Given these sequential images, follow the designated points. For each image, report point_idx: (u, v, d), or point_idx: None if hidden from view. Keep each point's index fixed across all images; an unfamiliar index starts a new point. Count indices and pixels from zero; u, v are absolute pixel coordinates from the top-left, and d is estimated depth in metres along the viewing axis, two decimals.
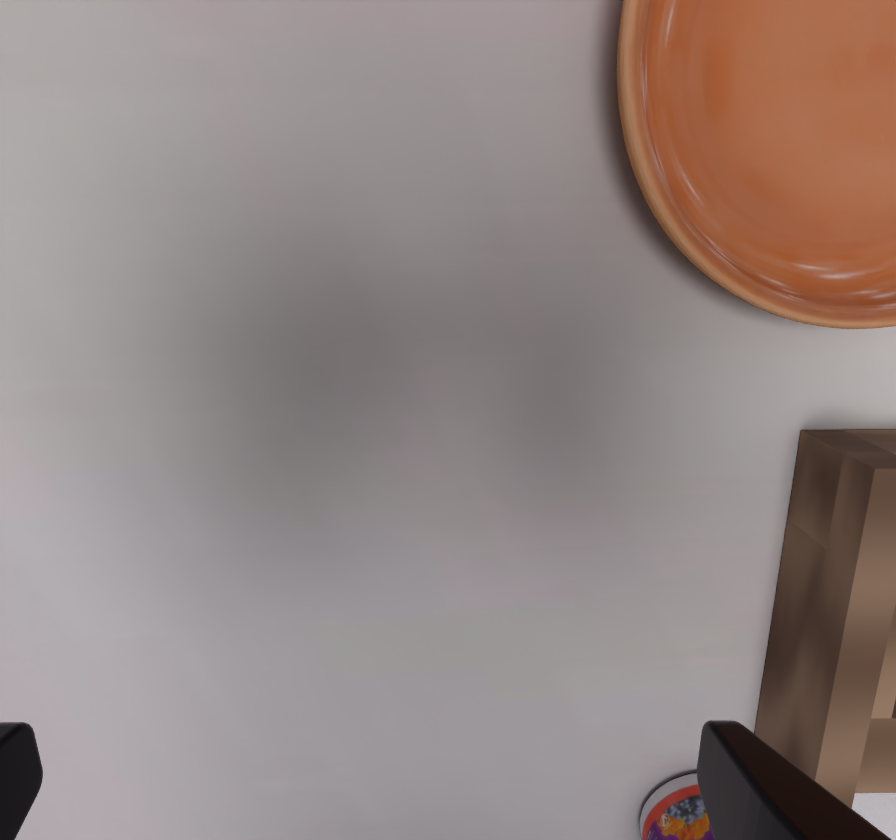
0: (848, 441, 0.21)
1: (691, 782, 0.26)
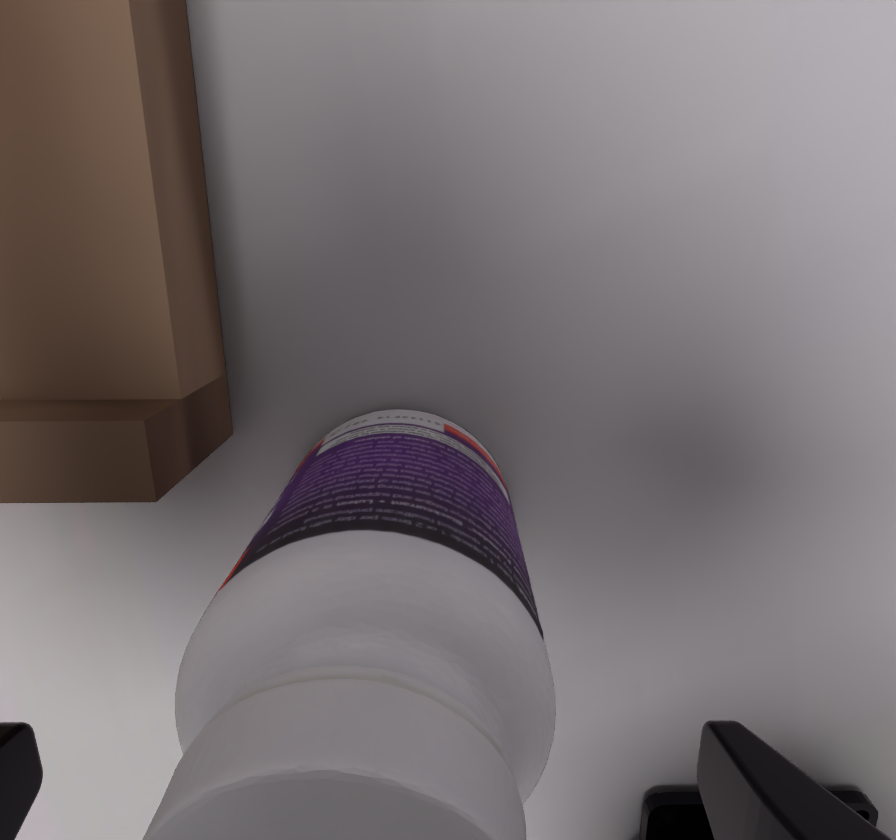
0: None
1: None
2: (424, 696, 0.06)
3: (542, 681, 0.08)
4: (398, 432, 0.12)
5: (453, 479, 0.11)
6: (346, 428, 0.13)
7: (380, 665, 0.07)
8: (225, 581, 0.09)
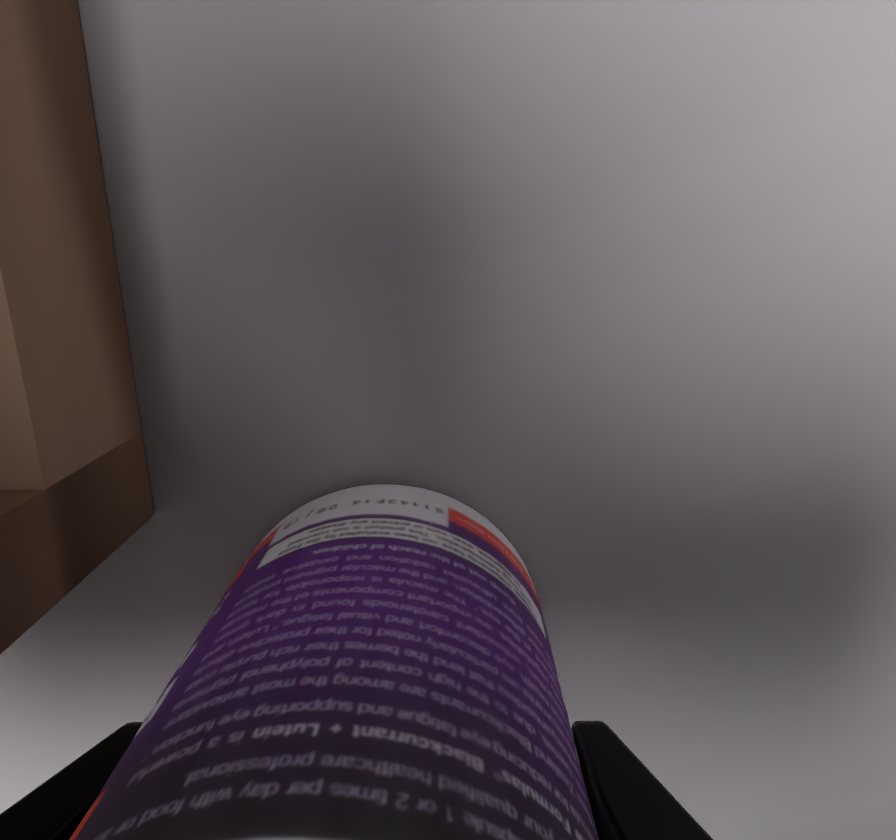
0: None
1: None
2: None
3: None
4: (379, 535, 0.08)
5: (462, 639, 0.06)
6: (306, 518, 0.09)
7: None
8: None
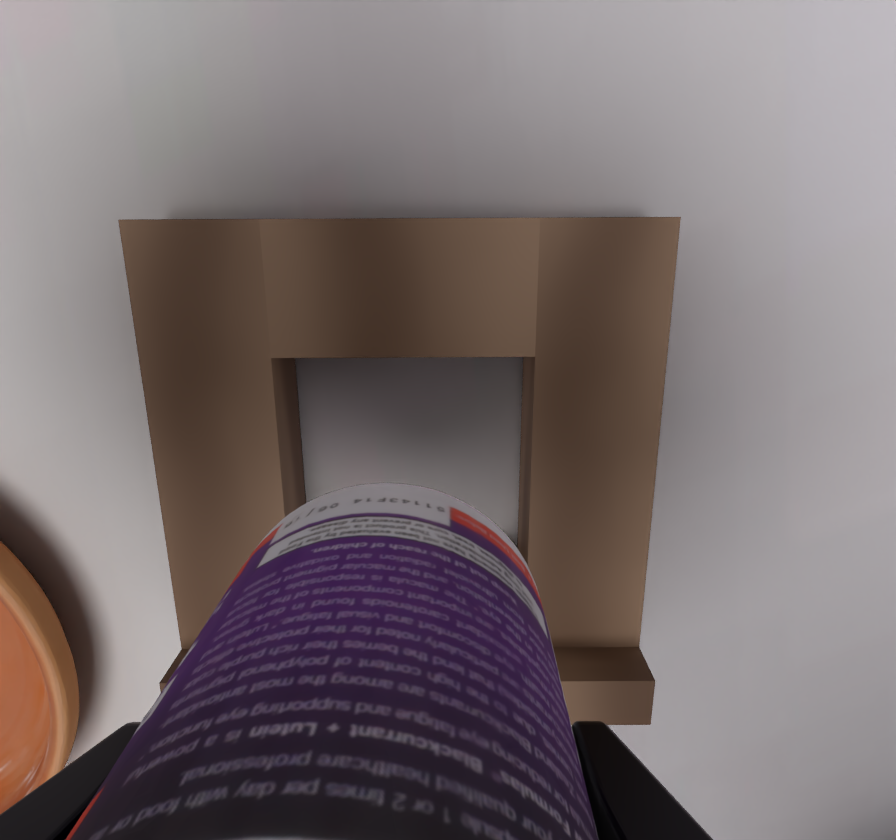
0: None
1: None
2: None
3: None
4: (380, 535, 0.08)
5: (464, 639, 0.06)
6: (308, 517, 0.09)
7: None
8: None
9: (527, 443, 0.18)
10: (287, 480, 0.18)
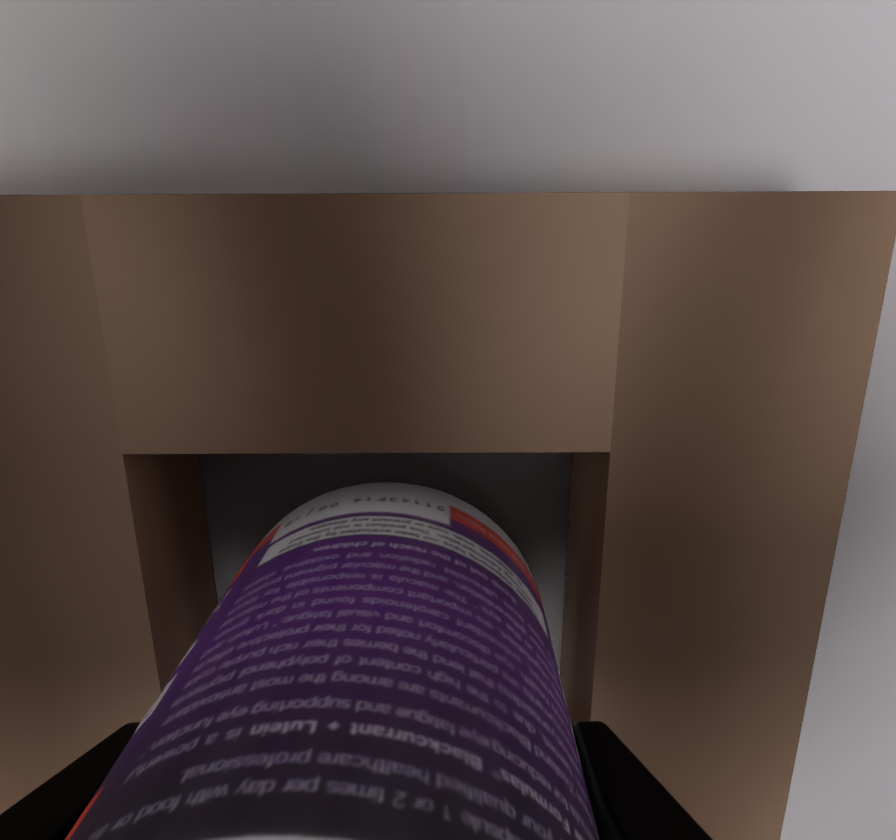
0: None
1: None
2: None
3: None
4: (380, 533, 0.08)
5: (463, 638, 0.06)
6: (308, 516, 0.09)
7: None
8: None
9: (585, 585, 0.10)
10: (174, 649, 0.10)
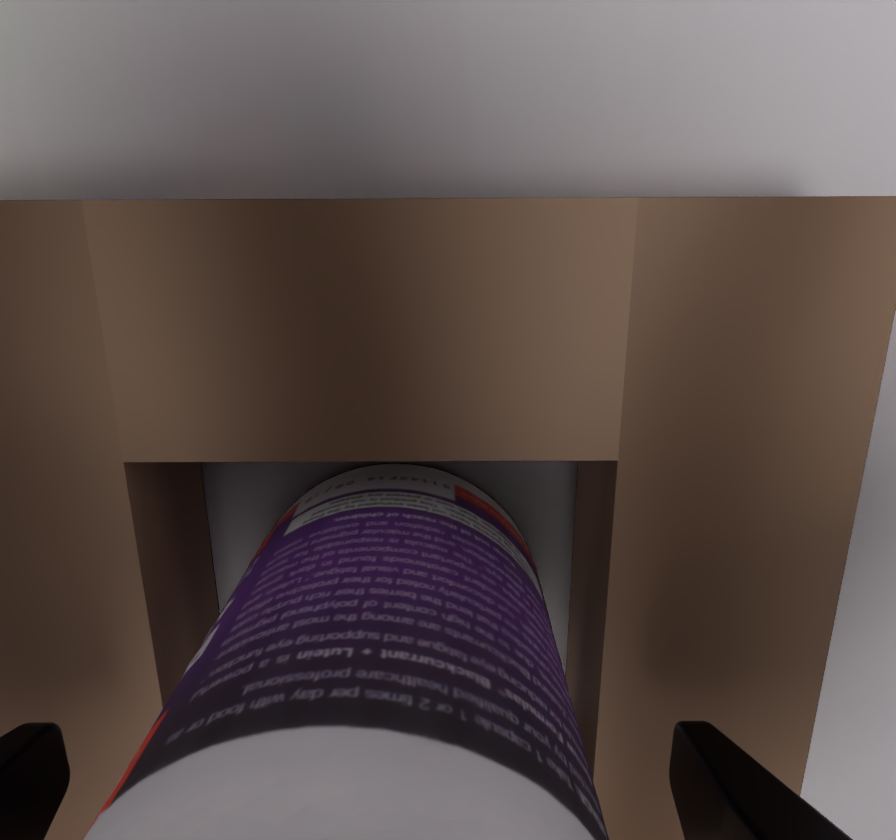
0: None
1: None
2: None
3: None
4: (394, 505, 0.09)
5: (471, 590, 0.07)
6: (326, 493, 0.10)
7: None
8: (117, 787, 0.06)
9: (591, 594, 0.10)
10: (175, 658, 0.10)
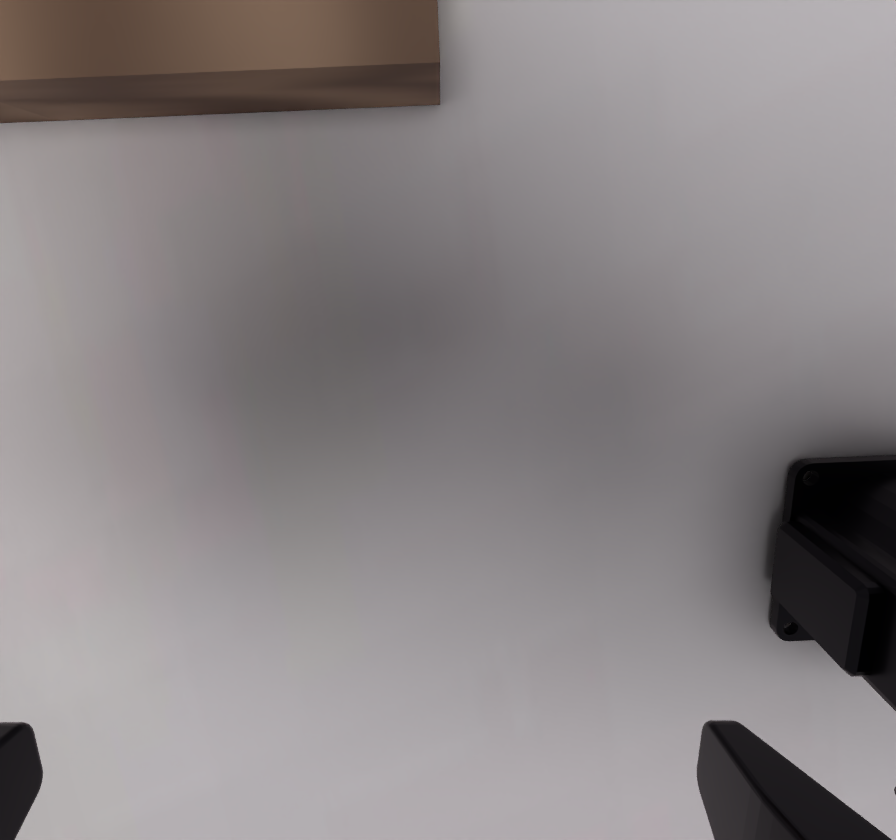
0: None
1: None
2: None
3: None
4: None
5: None
6: None
7: None
8: None
9: None
10: None
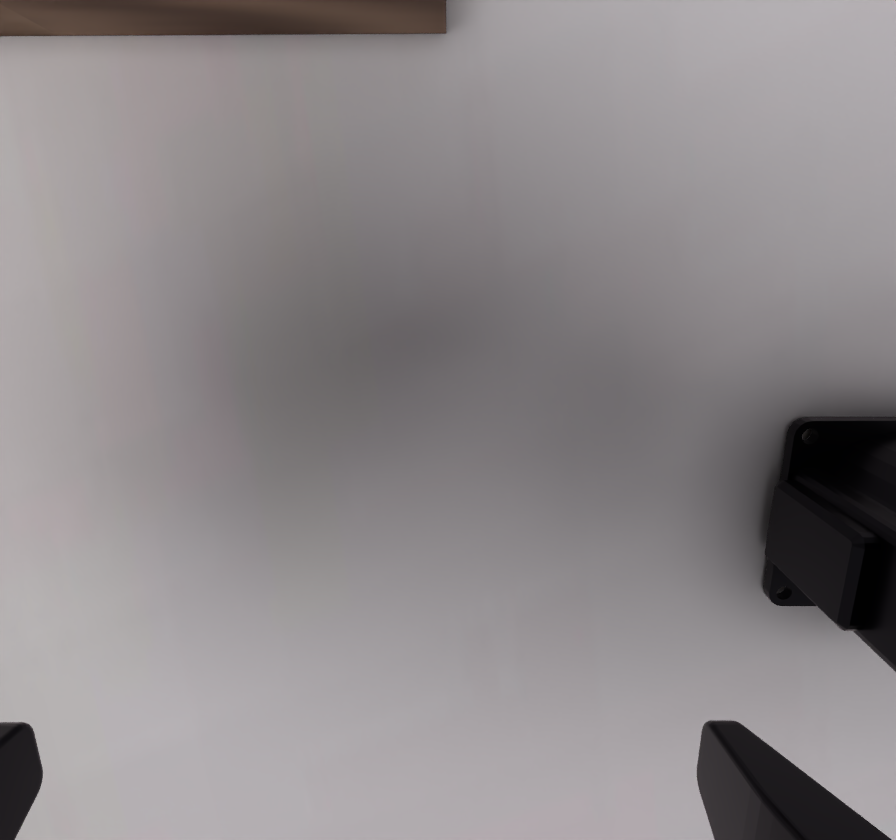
0: None
1: None
2: None
3: None
4: None
5: None
6: None
7: None
8: None
9: None
10: None
